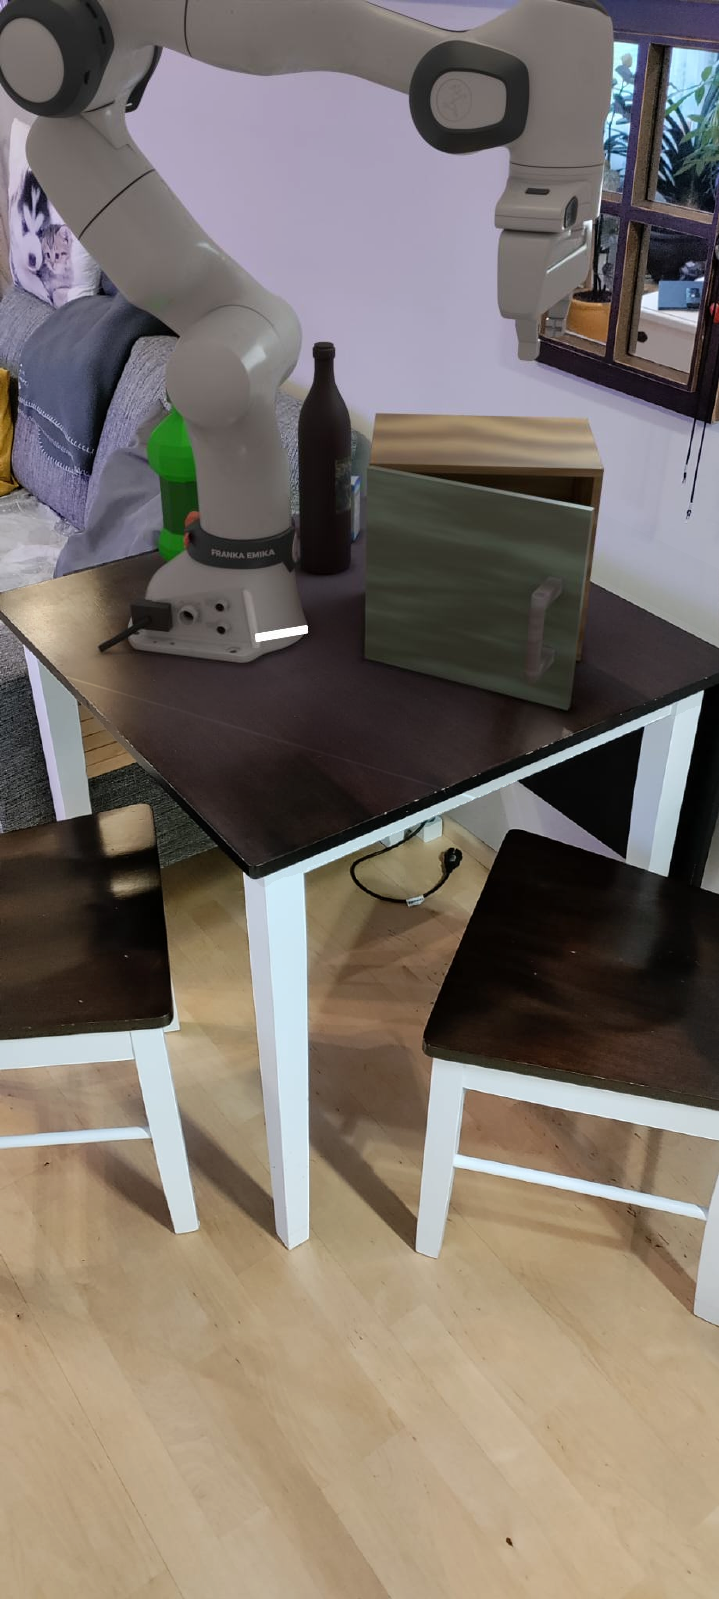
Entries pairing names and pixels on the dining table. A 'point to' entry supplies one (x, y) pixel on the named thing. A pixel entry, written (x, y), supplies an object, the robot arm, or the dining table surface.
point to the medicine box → (355, 506)
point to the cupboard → (498, 458)
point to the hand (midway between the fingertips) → (541, 347)
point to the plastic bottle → (173, 480)
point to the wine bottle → (324, 471)
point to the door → (475, 584)
